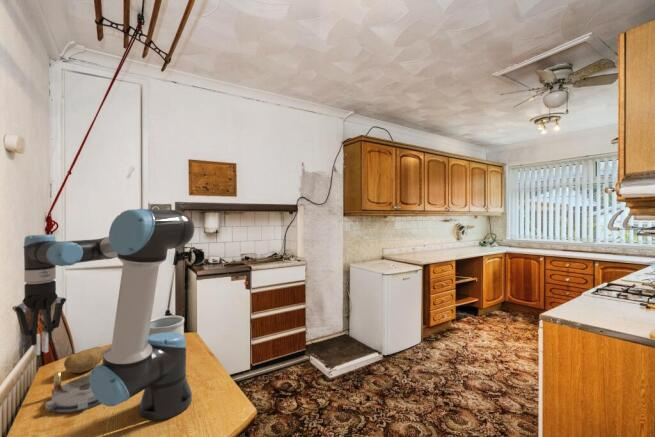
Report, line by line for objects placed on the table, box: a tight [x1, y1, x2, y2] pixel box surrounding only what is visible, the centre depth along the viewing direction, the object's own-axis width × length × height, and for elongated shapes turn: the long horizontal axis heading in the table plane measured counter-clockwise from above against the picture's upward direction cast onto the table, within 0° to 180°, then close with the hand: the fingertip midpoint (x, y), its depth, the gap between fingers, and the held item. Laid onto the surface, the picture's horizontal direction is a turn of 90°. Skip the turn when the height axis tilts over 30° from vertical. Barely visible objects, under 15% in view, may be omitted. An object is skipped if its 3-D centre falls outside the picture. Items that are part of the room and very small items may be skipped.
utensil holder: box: [149, 315, 185, 336], centre depth 127 cm, size 15×15×18 cm
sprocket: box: [45, 371, 98, 411], centre depth 104 cm, size 21×20×7 cm
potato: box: [63, 346, 106, 374], centre depth 121 cm, size 10×14×8 cm
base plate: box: [50, 401, 103, 415], centre depth 104 cm, size 19×19×1 cm
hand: (41, 352), depth 100 cm, fingers closed
